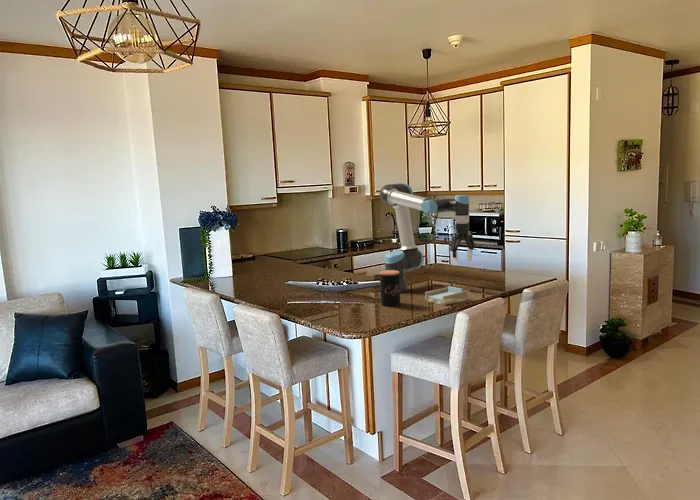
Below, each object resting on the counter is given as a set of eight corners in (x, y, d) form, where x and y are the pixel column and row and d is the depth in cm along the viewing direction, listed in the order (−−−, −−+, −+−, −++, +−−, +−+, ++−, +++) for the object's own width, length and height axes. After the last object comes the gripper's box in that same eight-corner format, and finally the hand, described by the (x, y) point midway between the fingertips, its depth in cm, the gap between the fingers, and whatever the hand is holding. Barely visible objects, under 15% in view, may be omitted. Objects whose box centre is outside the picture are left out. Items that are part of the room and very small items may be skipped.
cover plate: (427, 297, 295) (427, 290, 294) (449, 292, 304) (449, 285, 304) (442, 301, 285) (442, 294, 285) (464, 296, 295) (464, 289, 295)
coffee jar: (384, 307, 286) (383, 274, 283) (378, 303, 296) (377, 271, 293) (403, 305, 289) (402, 272, 286) (396, 301, 299) (395, 269, 296)
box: (425, 301, 296) (425, 292, 295) (448, 295, 306) (448, 287, 305) (444, 305, 284) (443, 296, 284) (467, 299, 295) (467, 291, 294)
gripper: (452, 225, 287) (453, 265, 290) (481, 221, 300) (481, 260, 304) (442, 224, 293) (443, 263, 296) (471, 220, 306) (471, 258, 310)
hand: (462, 261), depth 300 cm, fingers open, 11 cm apart
